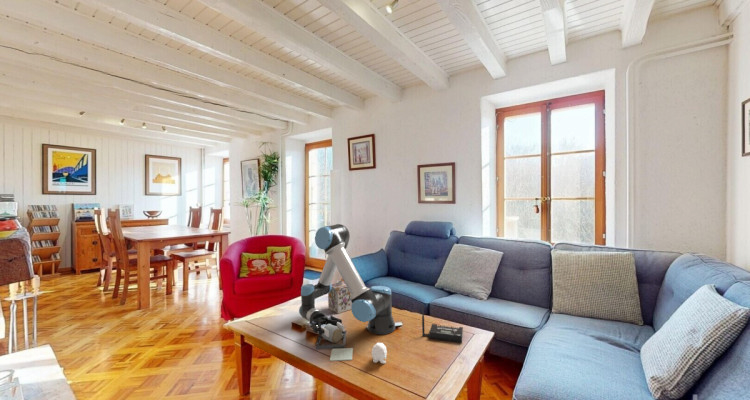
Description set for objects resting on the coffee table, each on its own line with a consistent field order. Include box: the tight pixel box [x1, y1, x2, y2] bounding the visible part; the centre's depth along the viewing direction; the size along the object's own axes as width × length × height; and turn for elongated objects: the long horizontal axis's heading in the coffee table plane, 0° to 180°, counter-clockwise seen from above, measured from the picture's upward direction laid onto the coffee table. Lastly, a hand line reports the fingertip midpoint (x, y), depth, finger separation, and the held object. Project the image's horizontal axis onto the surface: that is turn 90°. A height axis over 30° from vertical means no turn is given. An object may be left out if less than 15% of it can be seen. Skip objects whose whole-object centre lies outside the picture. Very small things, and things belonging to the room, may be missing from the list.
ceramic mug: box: [321, 324, 344, 344], centre depth 162 cm, size 11×8×8 cm
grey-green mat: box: [329, 347, 354, 362], centre depth 147 cm, size 10×10×1 cm
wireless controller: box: [421, 303, 464, 344], centre depth 163 cm, size 20×14×17 cm
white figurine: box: [371, 342, 388, 365], centre depth 142 cm, size 6×8×12 cm
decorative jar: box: [327, 280, 352, 314], centre depth 203 cm, size 12×12×18 cm
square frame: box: [315, 329, 348, 350], centre depth 160 cm, size 14×16×2 cm
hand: (336, 331), depth 156 cm, fingers closed on ceramic mug, 8 cm apart
